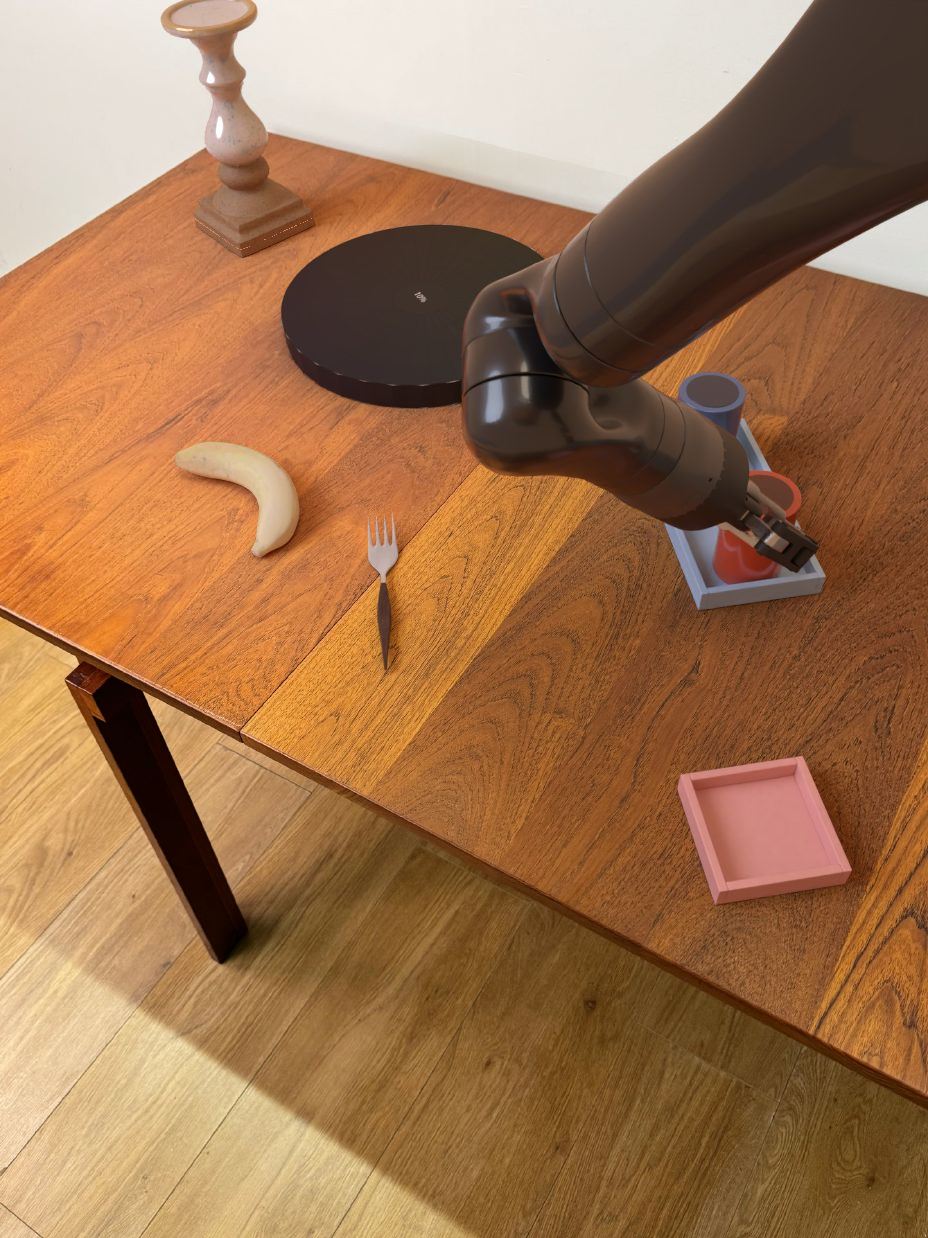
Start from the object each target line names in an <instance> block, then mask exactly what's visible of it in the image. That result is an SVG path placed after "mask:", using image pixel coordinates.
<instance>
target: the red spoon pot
mask: <svg viewBox="0 0 928 1238" xmlns="http://www.w3.org/2000/svg"><path fill="white" fill-rule="evenodd" d="M749 479H750V480H751V481H753V482H754V483H755V484H756V485H757V486H758V487H759V489H760V492H761V493H763V494H764V495H766V496H767V497H768V498H770V499H771V500H772V501H774V502H775V503H776V504H778V505H779V506H780V507H781V508H782V509H783V510H784V511H785V513H786V518H785V519H786V520H788V521H789V522H790V523H792V524H793V525H794V526H795V523H796V520H797V519H798V515H799V512H800V509H801V506H802V501H803V500H802V499H803V497H802V494H801V493H802V492H801V491H800V489H799V487H798V485H796V484H795V482H793V481H792V480H791V479H790V478H788V477H786V476H785V475H783V474H781V473H778V472H774V471H772V470H771V471H763V470H755V471H749ZM759 503H760V505H761V508H762V511H763V513H762V516H761V518H760V519H762V518H763V517H764V516H765V515H766V514H767V512H768V507H766V506H765V505H764V504H762V503H761V502H760V501H759ZM748 531H751V529H750V530H748ZM756 551H757V550H756V549H755V548H753V547H751V546H750V545H749V544H747V543H746V542H744V541H743V540H742V539H740V538H739V537H737V536H736V535H735V534H733V533H732V532H730V531H729V530H722V529H720V528H719V529H718V534H717V539H716V544H715V548H714V553H713V558H712V567H713V570H714V572H715V573H716V575H717V576H718V577H719V578H720V579H721V580H722V581H723V582H725V583H726V584H728V585H732V584H739V583H746V582H753V581H760V580H767V579H774V578H779V576H780V574H781V571H782V567H783V566H782V565H780V564H778V563H776V562H774V561H772V560H770V559H768V558H767V557H765V556H763V555H762V556H761V555H759V554H758V553H757V552H756Z"/></svg>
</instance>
